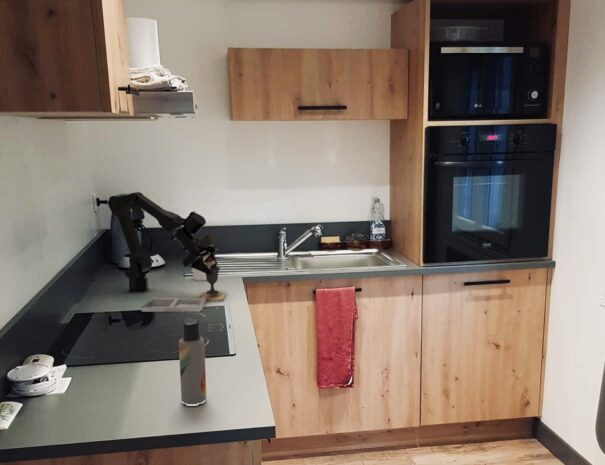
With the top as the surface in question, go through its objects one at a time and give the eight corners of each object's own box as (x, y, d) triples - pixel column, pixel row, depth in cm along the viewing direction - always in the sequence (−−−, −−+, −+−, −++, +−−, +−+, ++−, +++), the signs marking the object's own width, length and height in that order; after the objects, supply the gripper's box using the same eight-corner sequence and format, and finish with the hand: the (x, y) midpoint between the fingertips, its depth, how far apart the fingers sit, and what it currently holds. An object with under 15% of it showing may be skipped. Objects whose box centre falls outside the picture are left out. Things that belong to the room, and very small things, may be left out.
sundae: (206, 289, 213) (205, 252, 210) (223, 290, 212) (222, 252, 209) (200, 294, 206) (199, 255, 204) (218, 295, 205) (217, 256, 203)
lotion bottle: (208, 395, 130) (205, 315, 127) (204, 407, 125) (201, 323, 121) (183, 396, 130) (180, 315, 127) (179, 407, 124) (175, 323, 121)
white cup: (212, 276, 241) (212, 254, 240) (207, 281, 234) (207, 258, 232) (195, 276, 242) (194, 254, 240) (190, 281, 234) (189, 258, 233)
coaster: (198, 301, 205) (198, 299, 205) (203, 294, 214) (203, 292, 214) (222, 301, 205) (222, 299, 205) (226, 294, 214) (226, 292, 213)
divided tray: (141, 311, 193) (141, 307, 193) (150, 302, 204) (150, 298, 204) (200, 311, 193) (200, 307, 193) (206, 302, 204) (206, 298, 204)
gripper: (188, 231, 197) (216, 264, 196) (213, 224, 215) (239, 253, 213) (170, 251, 201) (197, 283, 200) (196, 242, 219) (221, 271, 217)
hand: (214, 272), depth 207 cm, fingers closed on sundae, 6 cm apart
